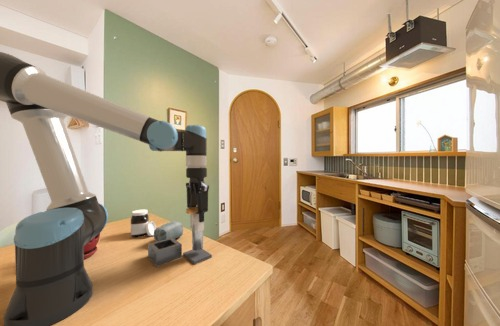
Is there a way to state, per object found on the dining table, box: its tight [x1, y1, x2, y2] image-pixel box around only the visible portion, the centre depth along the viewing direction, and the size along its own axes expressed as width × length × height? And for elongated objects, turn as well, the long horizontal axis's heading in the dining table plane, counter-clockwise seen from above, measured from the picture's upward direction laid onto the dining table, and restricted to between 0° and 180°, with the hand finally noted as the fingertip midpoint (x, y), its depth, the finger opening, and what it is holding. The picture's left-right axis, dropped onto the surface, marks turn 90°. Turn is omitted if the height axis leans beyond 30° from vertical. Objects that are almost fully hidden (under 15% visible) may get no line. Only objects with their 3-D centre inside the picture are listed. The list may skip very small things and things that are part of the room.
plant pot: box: [84, 232, 101, 260], centre depth 72 cm, size 13×13×12 cm
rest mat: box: [182, 248, 213, 265], centre depth 72 cm, size 7×9×1 cm
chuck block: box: [147, 237, 183, 268], centre depth 71 cm, size 9×9×5 cm
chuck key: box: [185, 207, 204, 250], centre depth 72 cm, size 4×8×16 cm, turn 134°
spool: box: [153, 220, 184, 242], centre depth 86 cm, size 14×10×10 cm
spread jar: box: [130, 208, 158, 238], centre depth 93 cm, size 12×11×12 cm
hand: (197, 228), depth 72 cm, fingers closed on chuck key, 4 cm apart
